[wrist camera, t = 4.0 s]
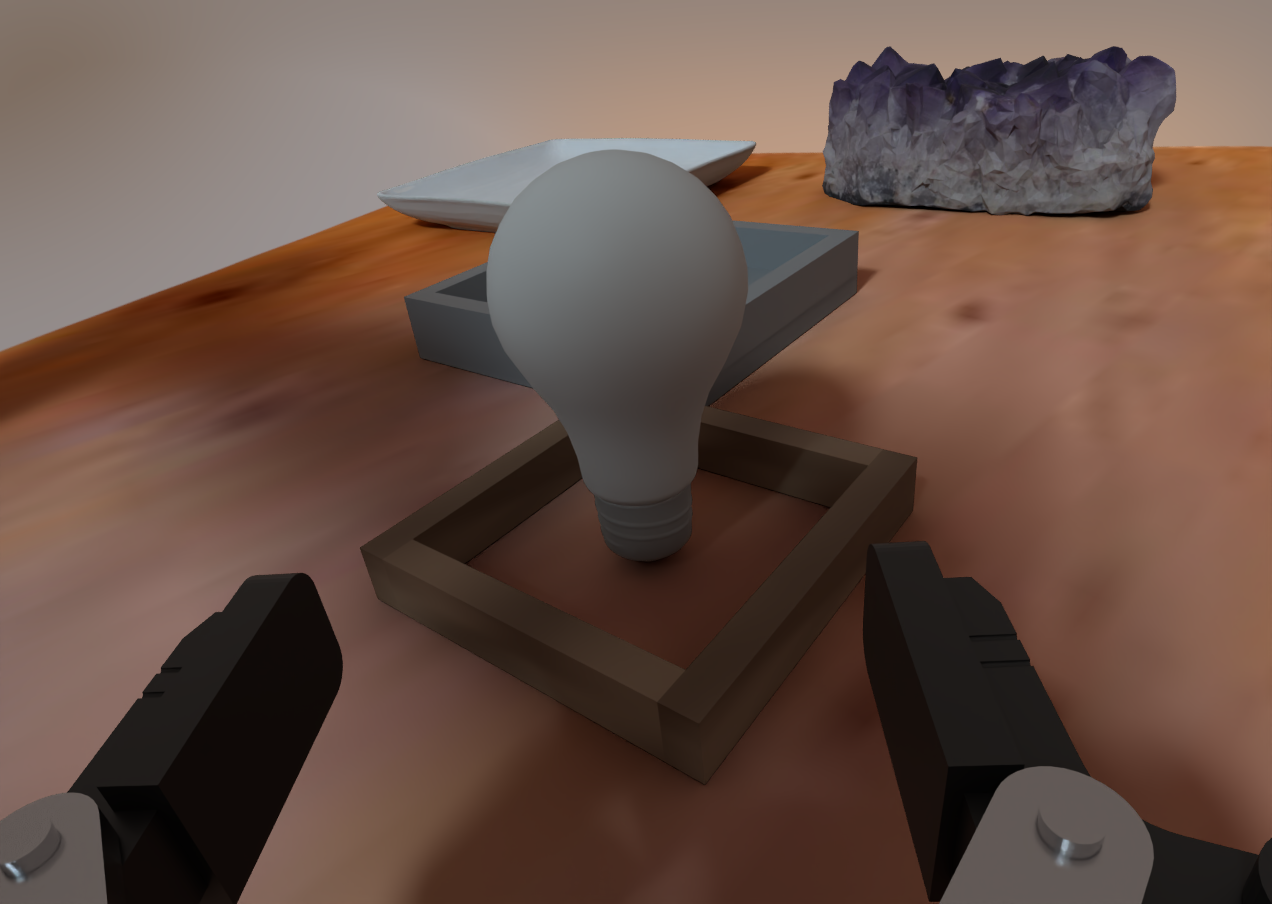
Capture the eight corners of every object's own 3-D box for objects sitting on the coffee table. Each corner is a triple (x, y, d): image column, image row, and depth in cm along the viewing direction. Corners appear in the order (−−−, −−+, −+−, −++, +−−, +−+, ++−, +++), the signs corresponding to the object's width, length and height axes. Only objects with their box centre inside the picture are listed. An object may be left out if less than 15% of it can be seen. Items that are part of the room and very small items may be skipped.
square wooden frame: (377, 598, 22) (359, 548, 21) (620, 427, 30) (614, 383, 29) (705, 784, 16) (699, 723, 15) (912, 510, 23) (917, 457, 22)
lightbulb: (661, 473, 27) (623, 120, 21) (804, 550, 22) (803, 132, 17) (504, 557, 23) (411, 170, 18) (635, 665, 19) (566, 200, 14)
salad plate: (764, 180, 63) (763, 134, 61) (609, 263, 49) (602, 206, 47) (557, 173, 74) (551, 134, 73) (381, 240, 60) (368, 193, 58)
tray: (420, 357, 38) (403, 296, 36) (617, 261, 47) (611, 210, 46) (680, 427, 29) (673, 351, 28) (856, 292, 39) (858, 231, 37)
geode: (786, 220, 52) (786, 50, 48) (845, 199, 61) (849, 53, 57) (1154, 221, 41) (1192, 2, 38) (1160, 195, 50) (1191, 16, 46)
